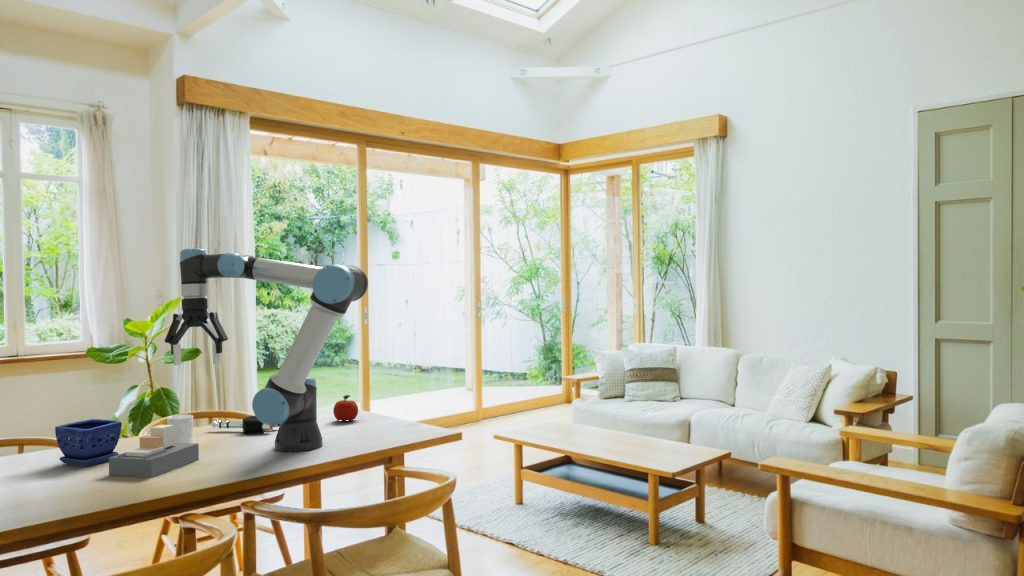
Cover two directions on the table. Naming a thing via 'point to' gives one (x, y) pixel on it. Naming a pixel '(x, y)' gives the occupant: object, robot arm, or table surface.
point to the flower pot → (88, 441)
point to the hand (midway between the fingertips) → (197, 364)
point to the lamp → (246, 425)
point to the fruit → (345, 409)
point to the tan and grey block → (146, 446)
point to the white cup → (182, 428)
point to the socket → (154, 461)
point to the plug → (164, 434)
